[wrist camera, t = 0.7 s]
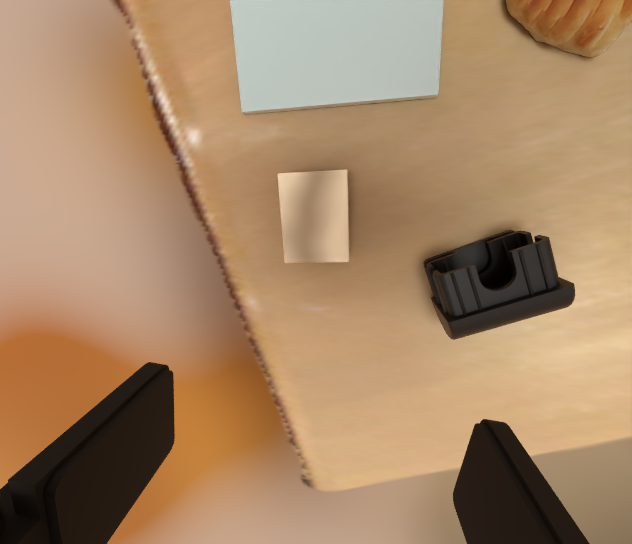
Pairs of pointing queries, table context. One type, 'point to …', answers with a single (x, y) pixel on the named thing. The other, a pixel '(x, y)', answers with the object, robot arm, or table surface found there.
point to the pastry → (573, 22)
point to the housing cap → (315, 216)
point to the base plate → (335, 52)
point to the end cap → (496, 283)
